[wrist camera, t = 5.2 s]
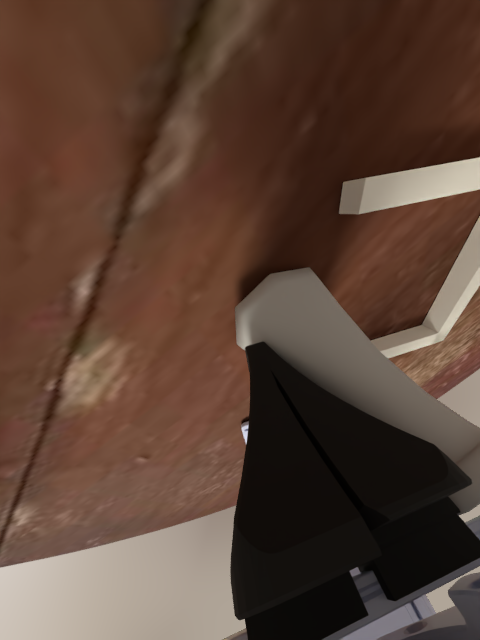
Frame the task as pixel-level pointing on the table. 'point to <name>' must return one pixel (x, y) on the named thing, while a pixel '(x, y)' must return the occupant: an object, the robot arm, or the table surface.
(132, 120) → the table surface
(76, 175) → the table surface
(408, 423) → the flask
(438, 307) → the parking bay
